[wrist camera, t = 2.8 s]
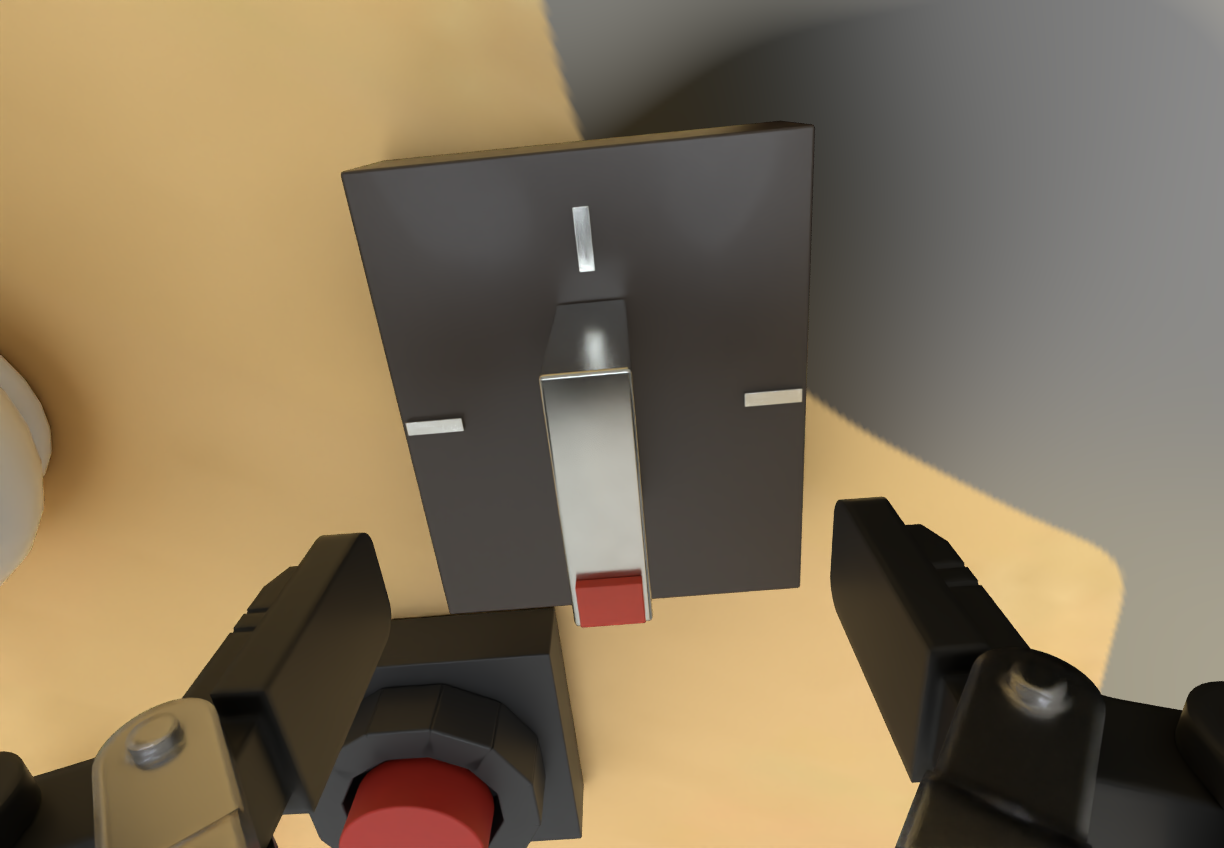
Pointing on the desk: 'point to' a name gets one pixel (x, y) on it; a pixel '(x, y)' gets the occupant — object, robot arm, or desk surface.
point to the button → (419, 807)
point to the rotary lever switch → (658, 333)
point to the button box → (471, 721)
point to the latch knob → (597, 462)
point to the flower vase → (20, 467)
